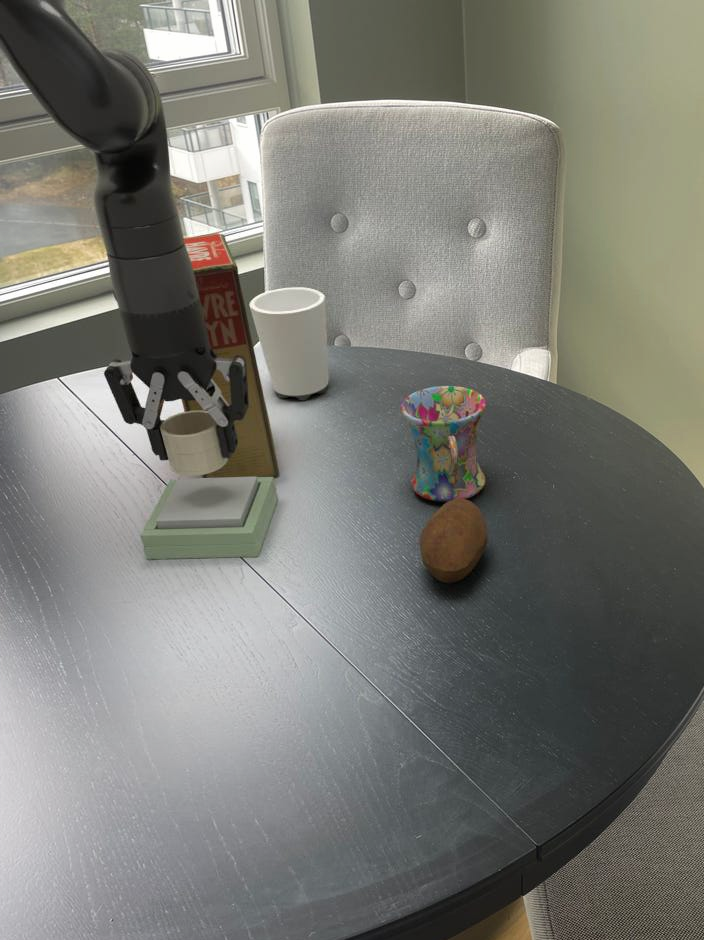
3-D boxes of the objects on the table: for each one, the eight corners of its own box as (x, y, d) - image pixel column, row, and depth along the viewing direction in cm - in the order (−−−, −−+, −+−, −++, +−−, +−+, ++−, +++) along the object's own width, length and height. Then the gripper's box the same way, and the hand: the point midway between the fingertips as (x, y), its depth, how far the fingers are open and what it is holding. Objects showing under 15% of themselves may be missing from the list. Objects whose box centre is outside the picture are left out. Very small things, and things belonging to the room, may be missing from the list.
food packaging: (193, 443, 124) (143, 240, 108) (266, 430, 126) (227, 229, 111) (203, 491, 114) (149, 276, 98) (282, 477, 116) (242, 263, 101)
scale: (146, 559, 103) (139, 535, 101) (175, 502, 112) (169, 479, 111) (258, 556, 103) (253, 532, 101) (278, 499, 112) (273, 476, 110)
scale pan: (158, 531, 103) (155, 520, 102) (180, 489, 110) (177, 478, 109) (242, 529, 102) (240, 518, 101) (259, 487, 109) (256, 476, 108)
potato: (414, 600, 95) (409, 541, 91) (429, 537, 104) (424, 480, 100) (483, 601, 95) (480, 541, 90) (491, 538, 104) (489, 480, 99)
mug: (404, 474, 115) (396, 390, 109) (481, 465, 116) (477, 381, 110) (417, 526, 106) (409, 438, 100) (500, 516, 107) (497, 428, 101)
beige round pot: (163, 476, 100) (153, 437, 98) (178, 449, 105) (168, 411, 102) (221, 475, 100) (211, 435, 97) (233, 447, 105) (224, 409, 102)
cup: (252, 391, 136) (235, 300, 128) (310, 370, 141) (296, 281, 133) (292, 412, 130) (276, 318, 122) (351, 389, 135) (339, 298, 127)
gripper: (241, 280, 94) (271, 437, 105) (95, 286, 95) (140, 441, 105) (224, 308, 88) (258, 471, 99) (69, 313, 89) (119, 475, 99)
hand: (197, 455), depth 102 cm, fingers closed on beige round pot, 6 cm apart
